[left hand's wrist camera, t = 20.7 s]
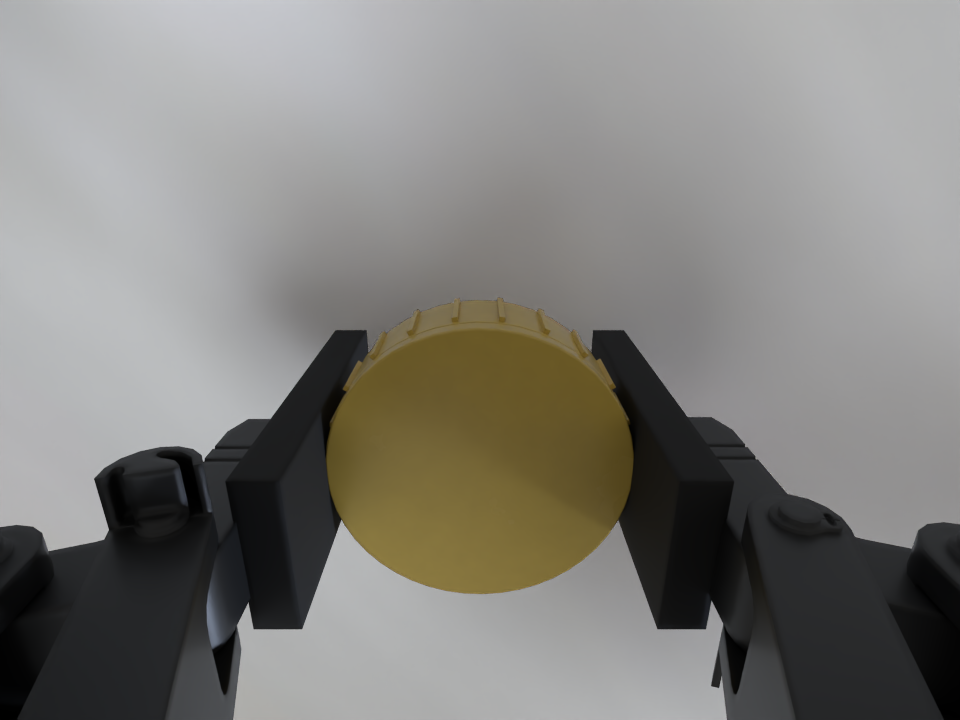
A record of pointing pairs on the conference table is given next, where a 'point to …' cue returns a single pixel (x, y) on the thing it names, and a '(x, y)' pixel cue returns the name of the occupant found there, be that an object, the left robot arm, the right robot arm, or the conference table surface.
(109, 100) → the conference table surface
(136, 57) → the conference table surface
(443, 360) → the lid
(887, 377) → the conference table surface
